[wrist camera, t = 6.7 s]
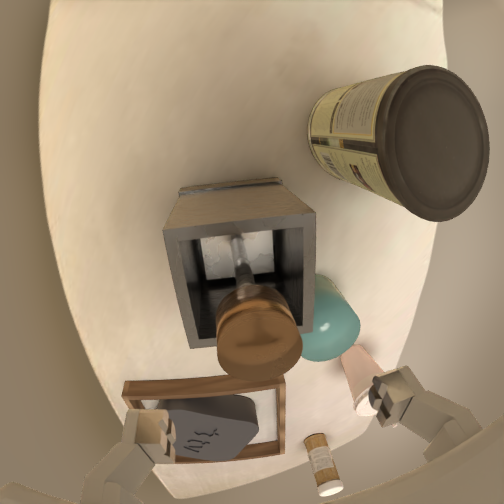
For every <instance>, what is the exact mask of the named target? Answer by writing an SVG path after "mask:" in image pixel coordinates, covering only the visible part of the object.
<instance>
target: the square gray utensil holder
mask: <svg viewBox="0 0 504 504" xmlns="http://www.w3.org/2000/svg"><path fill="white" fill-rule="evenodd" d="M268 230H272V237H273V257H274V272H267V273H259V274H253V277H254V281H255V285H264V286H268V287H271V288H273V289H275V290H277V291H278V292H279V293H280V294H281V295H282V296H283V297H284V298H285V300H286V302H287V304H288V306H289V309H290V311H291V314H292V316H293V318H294V321H295V323H296V326H297V328H298V331H299V333H300V334H305V333H311V332H313V320H314V298H315V264H316V212H314V211H313V210H312V209H311V208H310V207H308V206H307V205H306V204H305V203H304V202H302V201H301V200H300V199H299V198H298V197H296V196H295V195H294V194H293V193H292V192H290V191H289V190H288V189H287V188H285V187H284V186H283V185H282V181H281V180H280V179H279V178H266V179H255V180H245V181H235V182H226V183H217V184H209V185H201V186H193V187H186V188H181V189H180V191H179V199H178V201H177V203H176V205H175V206H174V208H173V210H172V212H171V214H170V216H169V218H168V220H167V222H166V224H165V226H164V228H163V235H164V240H165V245H166V250H167V255H168V260H169V265H170V269H171V274H172V279H173V283H174V287H175V292H176V296H177V300H178V304H179V308H180V312H181V316H182V320H183V324H184V328H185V332H186V336H187V339H188V343H189V347H190V349H194V348H204V347H214V346H217V334H216V312H217V308H218V306H219V304H220V302H221V301H222V300H223V298H224V297H225V296H226V295H227V294H229V293H230V292H232V291H233V290H235V289H237V285H236V278H235V277H227V278H219V279H211V280H207V278H206V272H205V266H204V260H203V253H202V247H201V240H200V238H208V237H216V236H225V235H233V234H242V233H250V232H259V231H268Z"/></svg>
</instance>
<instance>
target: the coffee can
mask: <svg viewBox="0 0 504 504" xmlns="http://www.w3.org/2000/svg"><path fill="white" fill-rule="evenodd" d="M307 133H308V141H309V145H310V149H311V151H312V154H313V155H314V157H315V159H316V160H317V162H318V163H319V164H320V166H321V167H322V168H323V169H324V170H325V171H326V172H328V173H329V174H330V175H332V176H334V177H336V178H338V179H341V180H344V181H347V182H350V183H352V184H354V185H357V186H359V187H361V188H364V189H366V190H368V191H371V192H373V193H375V194H377V195H379V196H382V197H384V198H386V199H388V200H390V201H393V202H395V203H397V204H399V205H401V206H403V207H405V208H406V209H407V210H409V211H410V212H411V213H413V214H415V215H416V216H418V217H420V218H422V219H425V220H428V221H433V222H442V221H448V220H450V219H453V218H454V217H457V216H458V215H460V214H461V213H462V212H464V211H465V210H466V209H467V208H468V207H469V206H470V205H471V204H472V203H473V201H474V200H475V198H476V197H477V195H478V193H479V191H480V189H481V187H482V185H483V182H484V180H485V176H486V173H487V168H488V163H489V150H490V147H489V134H488V129H487V124H486V120H485V116H484V114H483V111H482V108H481V106H480V104H479V102H478V100H477V98H476V96H475V95H474V93H473V92H472V90H471V89H470V88H469V87H468V85H466V83H465V82H464V81H463V80H462V79H461V78H459V77H458V76H457V75H456V74H454V73H453V72H451V71H449V70H447V69H445V68H442V67H439V66H433V65H424V66H419V67H416V68H413V69H410V70H408V71H405V72H400V73H395V74H391V75H387V76H383V77H379V78H375V79H371V80H367V81H363V82H360V83H356V84H353V85H349V86H346V87H340V88H336V89H333V90H331V91H329V92H328V93H326V94H325V95H323V96H322V97H321V98H320V99H319V100H318V101H317V103H316V104H315V106H314V107H313V109H312V112H311V114H310V116H309V121H308V130H307Z"/></svg>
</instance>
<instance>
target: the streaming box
mask: <svg viewBox="0 0 504 504" xmlns="http://www.w3.org/2000/svg"><path fill="white" fill-rule="evenodd" d="M157 409H166V410H167V412H168V414H169V419H171V420H172V421H173V423H174V426H175V432H176V441H175V442H174V443H173V445H172V446H173V447H174V449H175V455H179V456H184V457H190V458H196V459H202V460H209V461H227V460H230V459H233V458H234V457H236V456H237V455H238V453H239V452H240V451H241V450H242V449H243V448H244V447H245V446H246V445H247V444H248V443H249V442H250V441H251V440H252V439H253V438H254V437H255V436H256V434H257V433H258V432H259V426H258V421H257V415H256V409H255V404H254V402H253V401H252V400H251V399H249V398H247V397H243V396H237V395H232V394H231V395H222V396H211V397H199V398H184V399H160V401H159V403H158V406H157V408H156V410H157Z"/></svg>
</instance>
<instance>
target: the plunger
mask: <svg viewBox="0 0 504 504" xmlns="http://www.w3.org/2000/svg"><path fill="white" fill-rule="evenodd" d="M200 240H201V247H202V253H203V260H204V266H205V272H206V278H207V280H211V279H219V278H227V277H235V278H236V285H237V289H235V290H233V291H232V292H230V293H229V294H227V295H226V296H225V297H224V298H223V300H222V301H221V302H220V304H219V306H218V308H217V312H216V334H217V356H218V361H219V364H220V366H221V367H222V368H223V370H224V371H225V372H226V373H228V374H229V375H231V376H233V377H235V378H237V379H240V380H244V381H253V382H255V381H265V380H270V379H273V378H276V377H278V376H280V375H282V374H284V373H286V372H287V371H289V370H290V369H291V368H292V367H293V366H294V365H295V364H296V363H297V361H298V360H299V358H300V356H301V354H302V350H303V341H302V338H301V335H300V333H299V331H298V328H297V326H296V323H295V321H294V318H293V316H292V314H291V311H290V309H289V306H288V304H287V302H286V300H285V298H284V297H283V296H282V295H281V294H280V293H279V292H278V291H277V290H275V289H273V288H271V287H268V286H264V285H255V281H254V277H253V274H259V273H267V272H274V257H273V237H272V230H268V231H259V232H250V233H242V234H233V235H225V236H216V237H208V238H200Z"/></svg>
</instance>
